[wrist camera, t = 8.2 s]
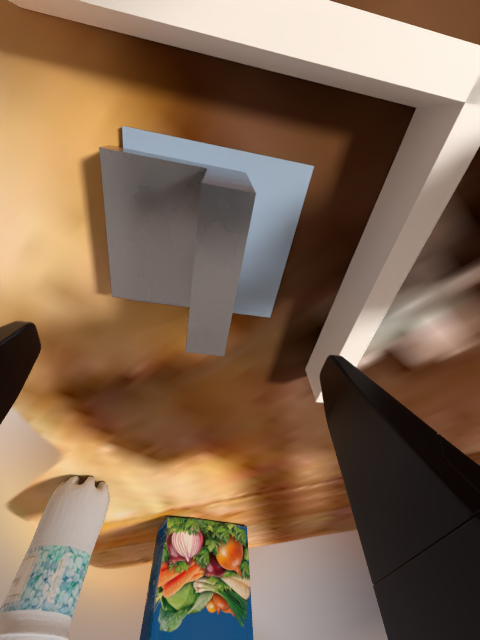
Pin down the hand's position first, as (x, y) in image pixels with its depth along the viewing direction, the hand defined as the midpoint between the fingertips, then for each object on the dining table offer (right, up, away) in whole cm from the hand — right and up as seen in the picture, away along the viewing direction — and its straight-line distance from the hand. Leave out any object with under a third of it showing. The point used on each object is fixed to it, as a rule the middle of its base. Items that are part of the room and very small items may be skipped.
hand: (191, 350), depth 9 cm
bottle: (-17, -19, +25) cm, 35 cm away
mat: (0, +6, +9) cm, 11 cm away
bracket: (-2, +6, +8) cm, 10 cm away
